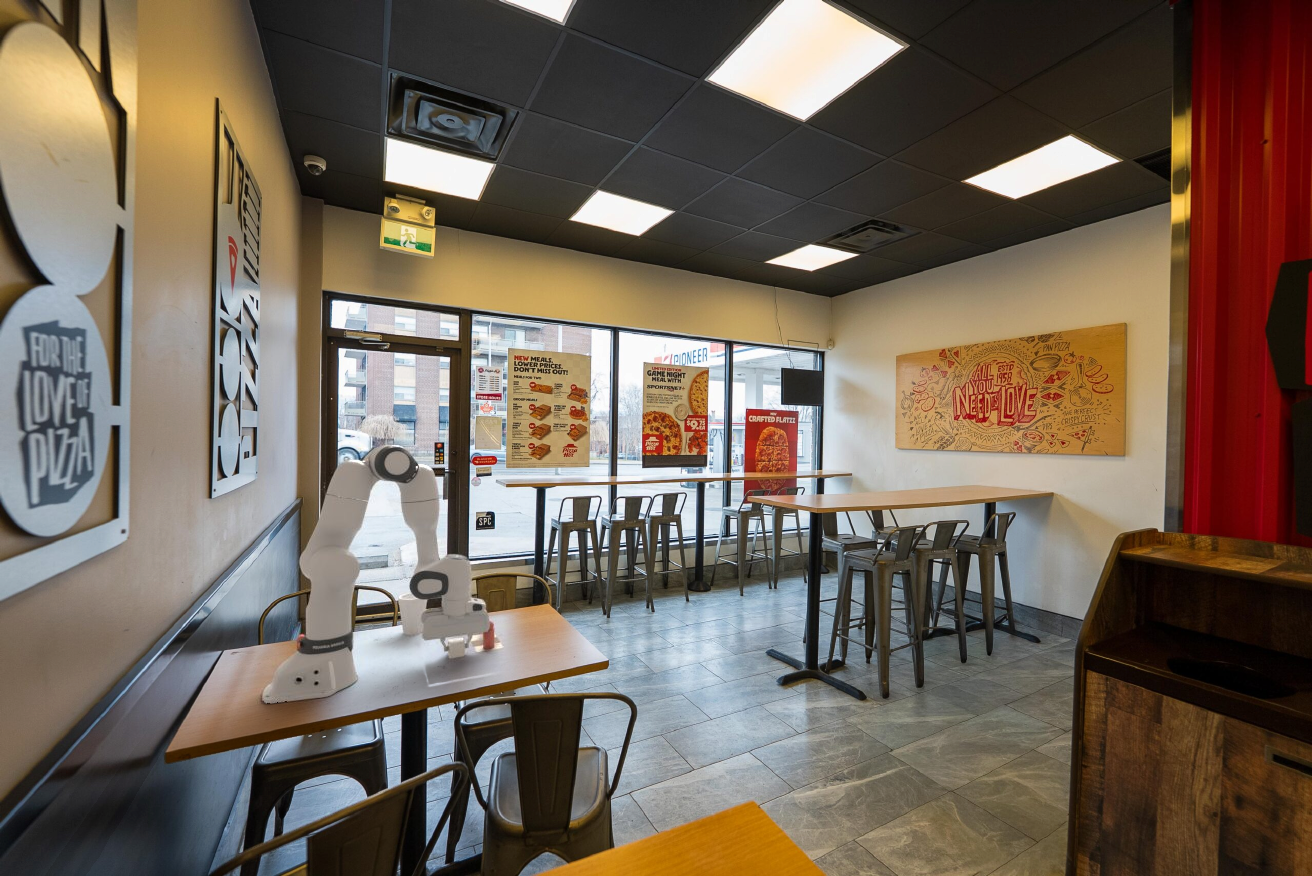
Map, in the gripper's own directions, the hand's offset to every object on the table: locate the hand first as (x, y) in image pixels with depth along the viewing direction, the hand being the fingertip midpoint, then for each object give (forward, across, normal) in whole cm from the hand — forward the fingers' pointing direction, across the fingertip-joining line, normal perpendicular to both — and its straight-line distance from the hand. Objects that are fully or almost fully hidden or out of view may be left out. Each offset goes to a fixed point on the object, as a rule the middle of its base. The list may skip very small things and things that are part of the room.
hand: (456, 649), depth 175 cm
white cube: (+2, 0, 0) cm, 2 cm away
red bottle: (+2, +10, +2) cm, 11 cm away
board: (+2, +10, +13) cm, 16 cm away
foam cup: (+2, -11, +30) cm, 32 cm away
